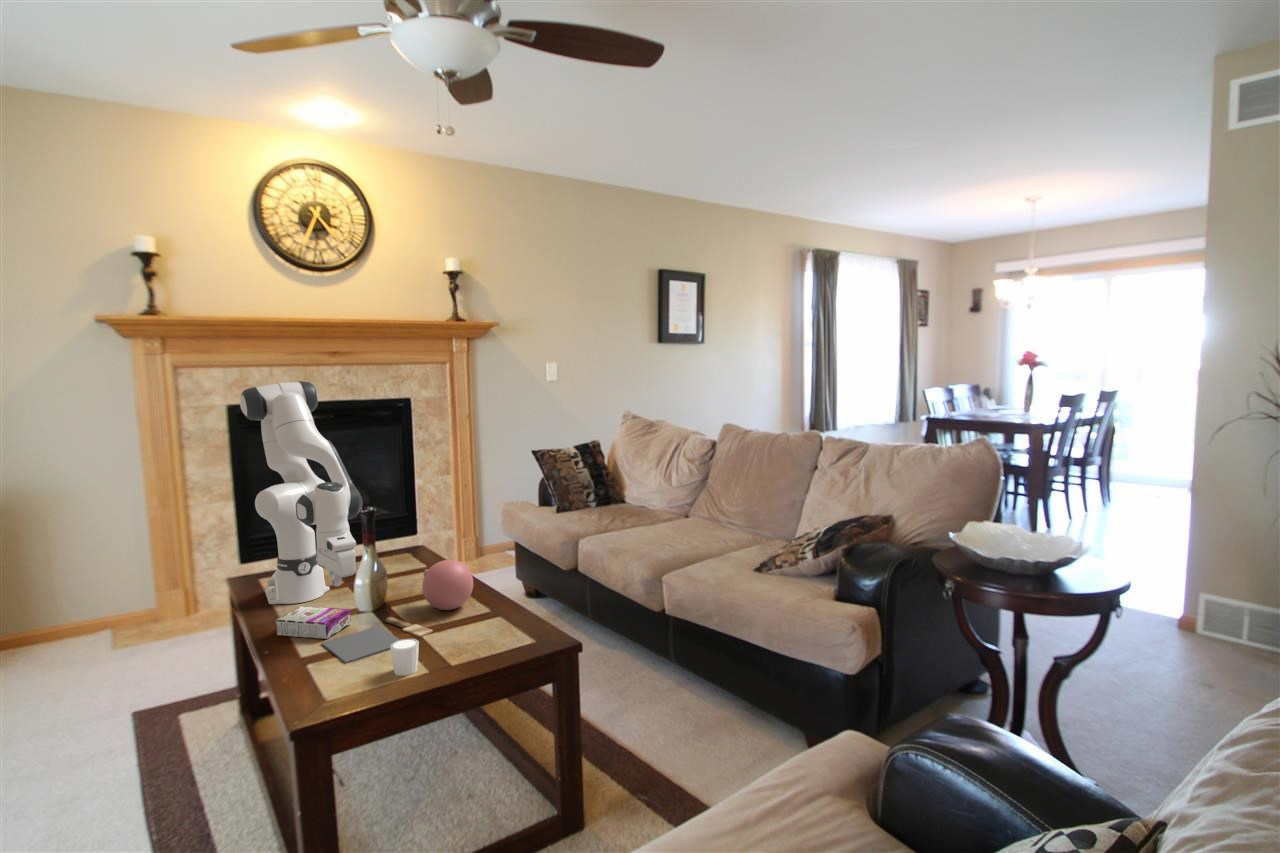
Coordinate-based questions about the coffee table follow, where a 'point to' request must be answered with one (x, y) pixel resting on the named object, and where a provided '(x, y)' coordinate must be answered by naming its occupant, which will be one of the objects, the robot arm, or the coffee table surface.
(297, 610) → the candy bar box
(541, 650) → the coffee table surface
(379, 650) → the mat
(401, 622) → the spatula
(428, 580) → the rose rubber ball
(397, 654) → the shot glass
